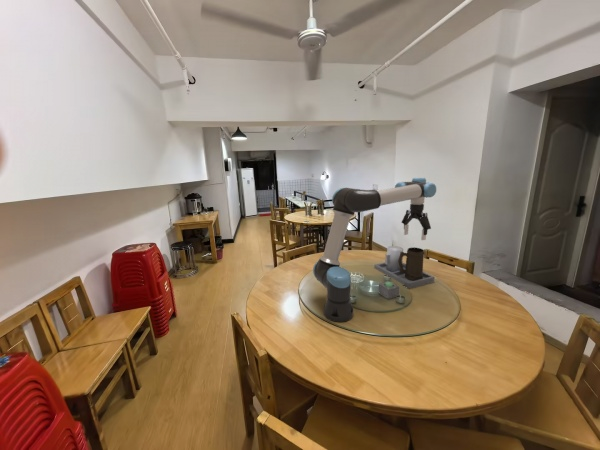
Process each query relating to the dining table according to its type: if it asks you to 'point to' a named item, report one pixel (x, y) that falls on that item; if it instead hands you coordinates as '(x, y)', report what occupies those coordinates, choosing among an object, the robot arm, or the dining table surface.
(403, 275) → the tray
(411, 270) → the beer stein
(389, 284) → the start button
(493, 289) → the dining table surface
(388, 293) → the grey square hollow block
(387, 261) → the white piece
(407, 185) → the robot arm
